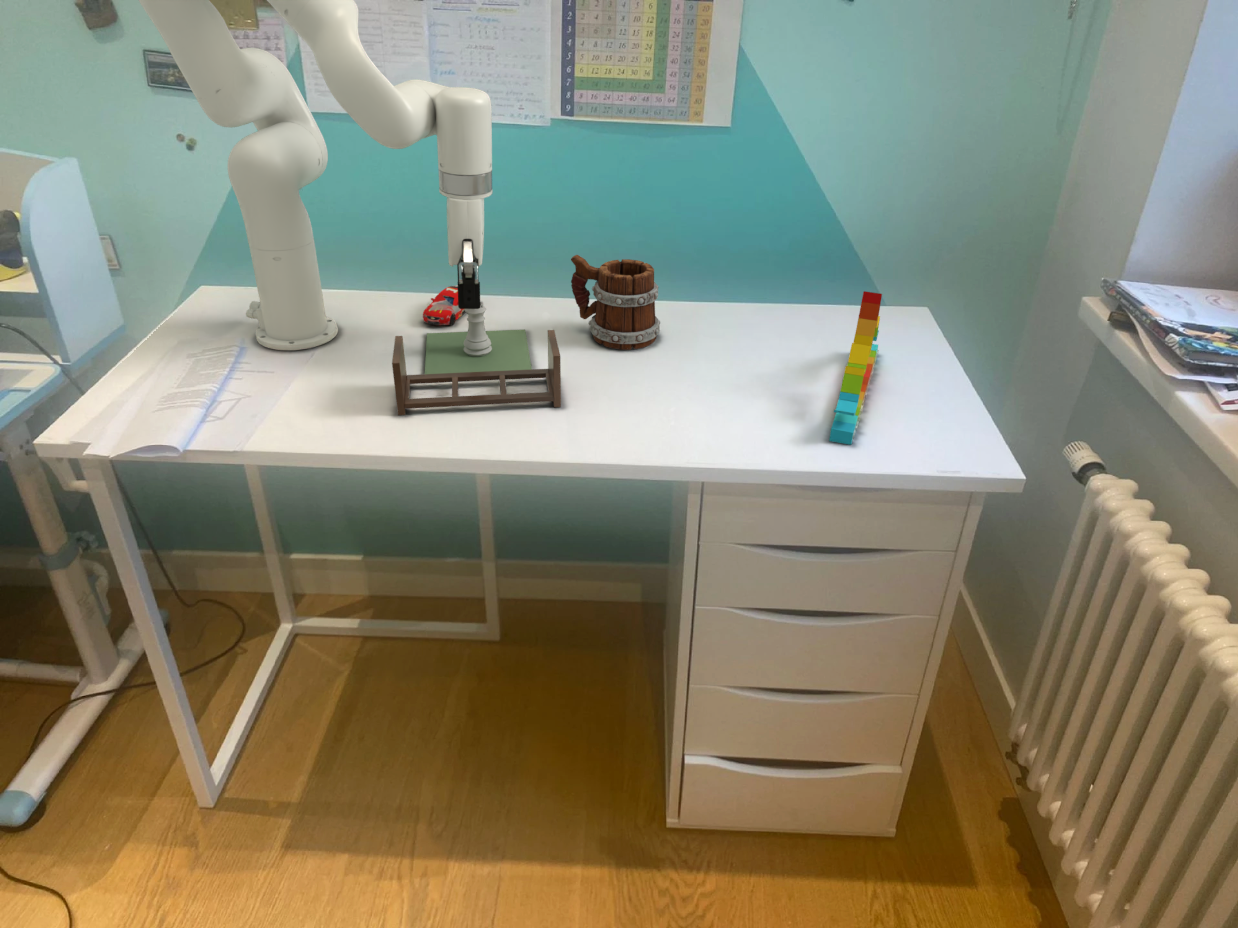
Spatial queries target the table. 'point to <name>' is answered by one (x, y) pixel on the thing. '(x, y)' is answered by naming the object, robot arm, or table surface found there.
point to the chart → (857, 371)
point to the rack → (404, 380)
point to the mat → (451, 358)
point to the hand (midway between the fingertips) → (468, 295)
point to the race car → (444, 308)
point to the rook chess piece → (476, 333)
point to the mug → (618, 302)
